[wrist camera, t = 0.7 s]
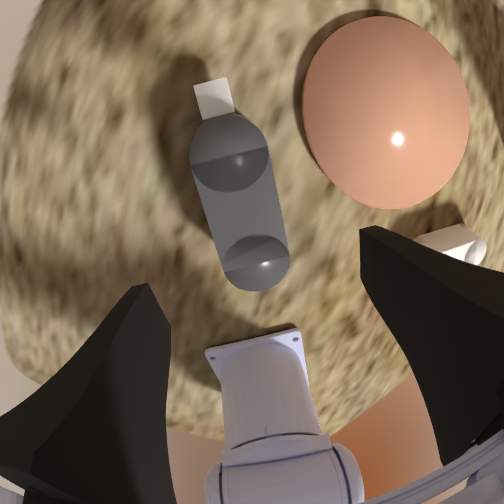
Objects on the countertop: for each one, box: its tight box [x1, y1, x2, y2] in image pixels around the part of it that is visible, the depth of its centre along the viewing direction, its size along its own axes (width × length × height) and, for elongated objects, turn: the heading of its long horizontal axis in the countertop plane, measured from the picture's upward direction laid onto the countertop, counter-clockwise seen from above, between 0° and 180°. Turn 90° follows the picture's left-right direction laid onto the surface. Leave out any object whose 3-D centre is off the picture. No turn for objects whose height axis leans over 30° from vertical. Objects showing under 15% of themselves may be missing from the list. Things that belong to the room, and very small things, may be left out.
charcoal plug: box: [189, 77, 290, 291], centre depth 16 cm, size 11×4×4 cm, turn 13°
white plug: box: [412, 223, 486, 265], centre depth 20 cm, size 9×3×3 cm, turn 103°
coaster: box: [301, 16, 470, 209], centre depth 16 cm, size 13×13×1 cm
